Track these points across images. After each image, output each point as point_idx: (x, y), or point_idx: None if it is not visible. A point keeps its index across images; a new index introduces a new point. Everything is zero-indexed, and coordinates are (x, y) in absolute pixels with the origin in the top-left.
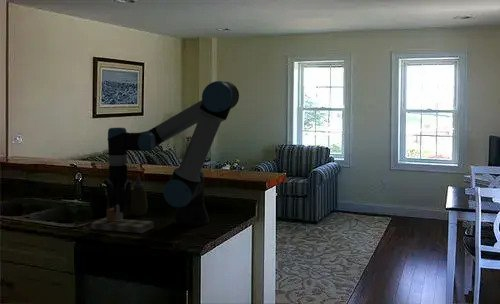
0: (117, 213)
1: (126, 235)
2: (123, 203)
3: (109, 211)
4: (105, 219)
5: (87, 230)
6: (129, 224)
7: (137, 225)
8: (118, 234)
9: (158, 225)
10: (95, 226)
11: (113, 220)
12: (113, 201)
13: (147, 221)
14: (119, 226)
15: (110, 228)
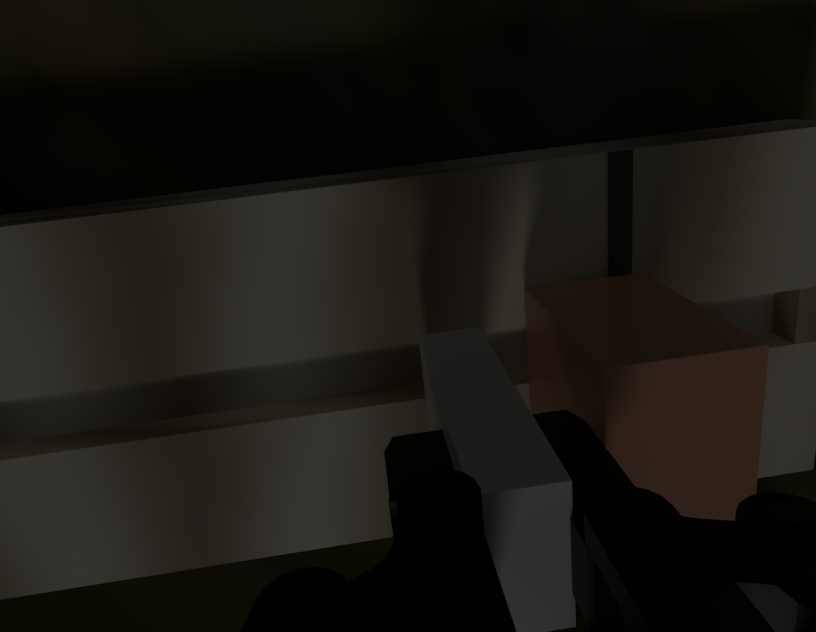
0: (480, 381)
1: (19, 5)
2: (324, 571)
3: (672, 343)
4: None
5: (805, 19)
6: (187, 307)
7: (6, 310)
8: (191, 7)
9: (43, 625)
10: (749, 130)
11: (531, 308)
12: (726, 560)
13: (68, 562)
14: (306, 186)
15: (474, 159)
